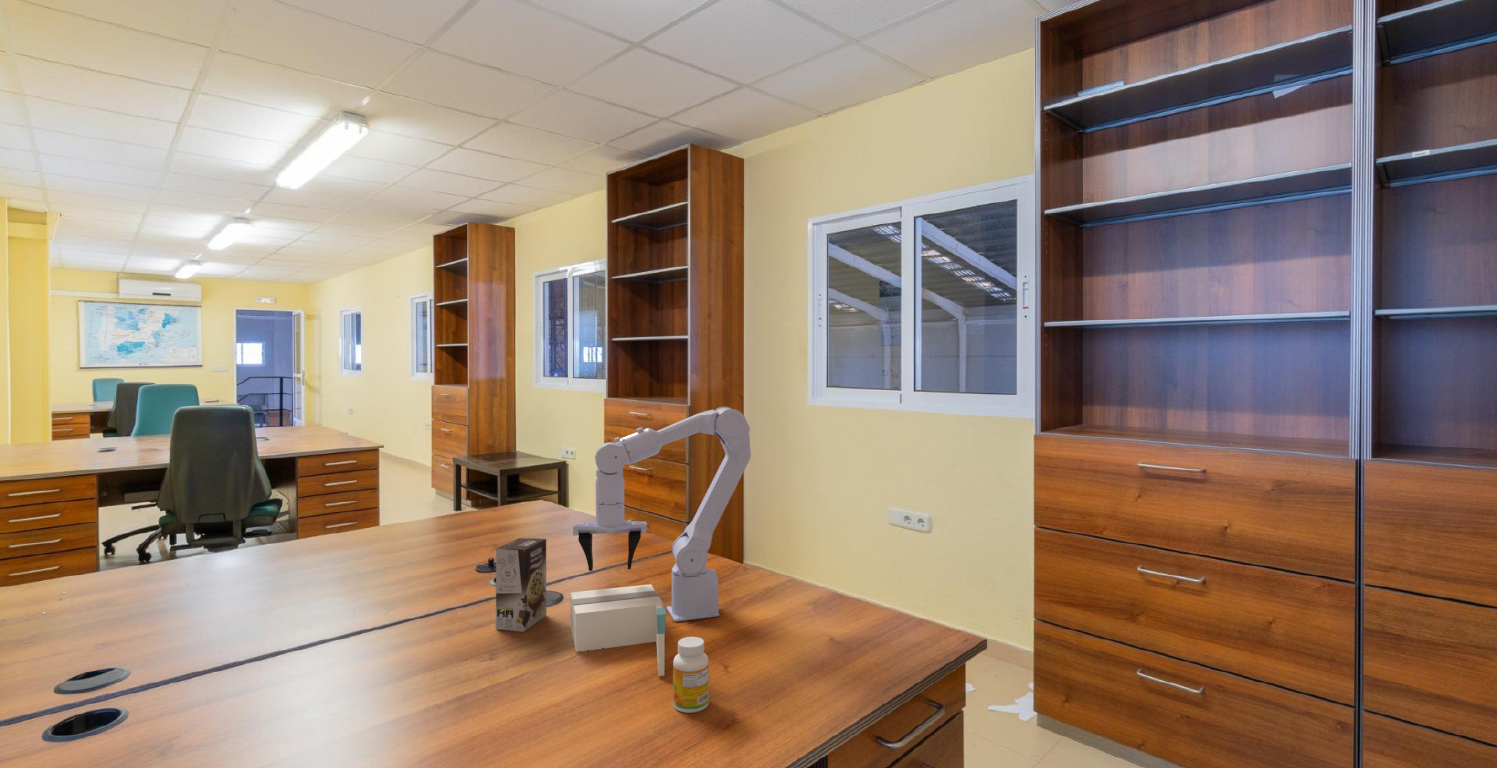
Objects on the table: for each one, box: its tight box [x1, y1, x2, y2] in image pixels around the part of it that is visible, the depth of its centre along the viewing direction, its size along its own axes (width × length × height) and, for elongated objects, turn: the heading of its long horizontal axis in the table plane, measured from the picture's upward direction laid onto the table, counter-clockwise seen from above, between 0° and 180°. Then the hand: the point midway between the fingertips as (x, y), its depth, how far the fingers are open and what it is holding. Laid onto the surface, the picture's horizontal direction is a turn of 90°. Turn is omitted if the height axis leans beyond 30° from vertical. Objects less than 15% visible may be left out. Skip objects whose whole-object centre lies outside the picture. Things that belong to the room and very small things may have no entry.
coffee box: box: [495, 537, 547, 633], centre depth 135 cm, size 9×6×16 cm
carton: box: [570, 584, 664, 653], centre depth 129 cm, size 16×12×7 cm
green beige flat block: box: [655, 604, 667, 677], centre depth 118 cm, size 14×1×10 cm, turn 9°
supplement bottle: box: [672, 636, 710, 714], centre depth 102 cm, size 5×5×10 cm
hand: (610, 568), depth 136 cm, fingers open, 7 cm apart
